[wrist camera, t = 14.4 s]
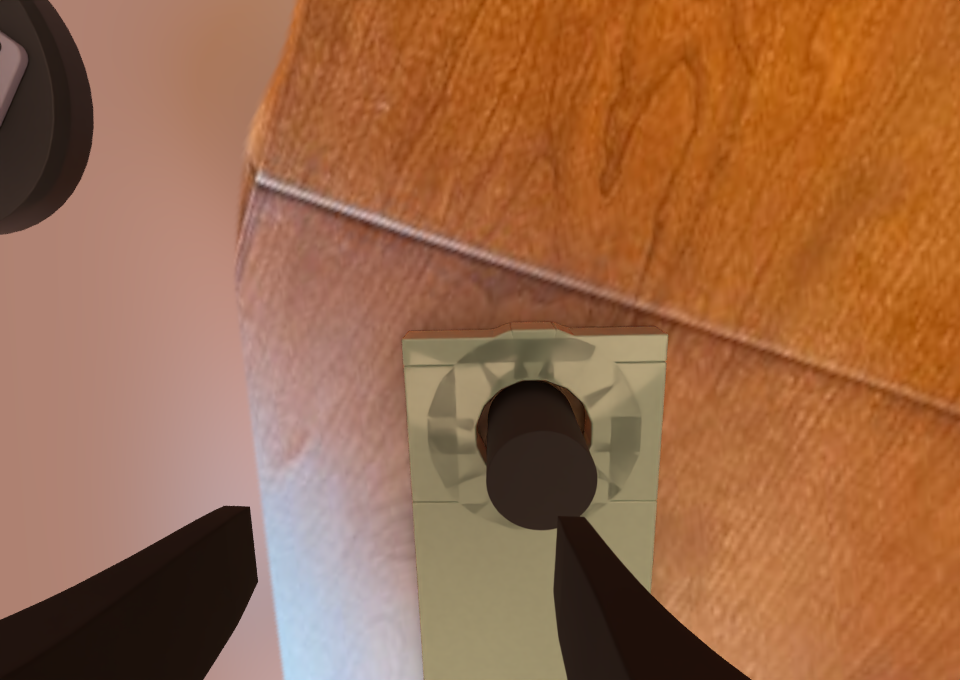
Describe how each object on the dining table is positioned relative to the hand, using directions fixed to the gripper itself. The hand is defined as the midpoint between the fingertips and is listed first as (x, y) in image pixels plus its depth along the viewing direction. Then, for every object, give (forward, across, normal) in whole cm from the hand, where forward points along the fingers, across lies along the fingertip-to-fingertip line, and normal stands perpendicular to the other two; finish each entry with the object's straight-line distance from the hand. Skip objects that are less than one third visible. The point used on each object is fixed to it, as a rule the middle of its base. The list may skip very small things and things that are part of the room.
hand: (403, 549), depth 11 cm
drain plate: (+9, -4, +7) cm, 12 cm away
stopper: (+9, -4, +1) cm, 10 cm away
